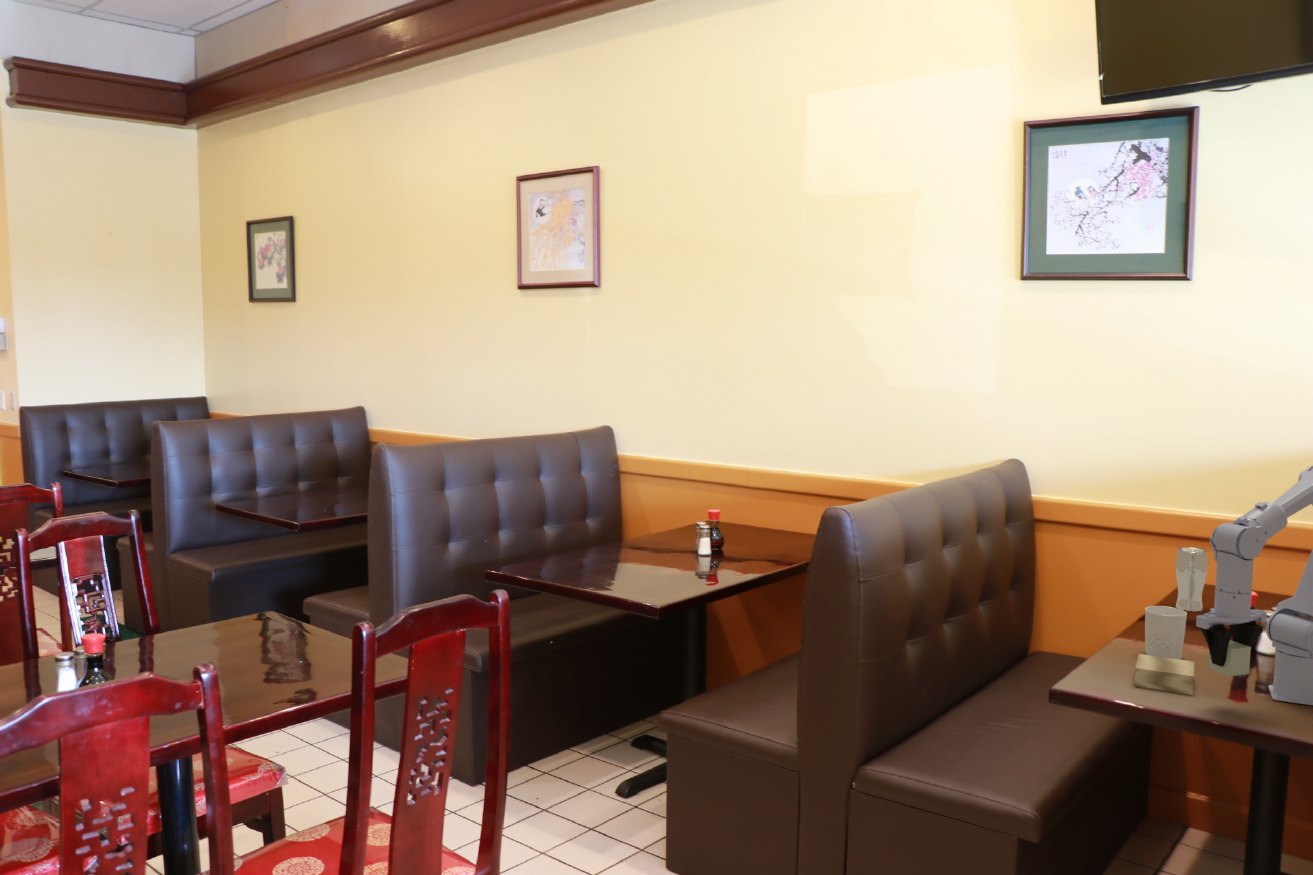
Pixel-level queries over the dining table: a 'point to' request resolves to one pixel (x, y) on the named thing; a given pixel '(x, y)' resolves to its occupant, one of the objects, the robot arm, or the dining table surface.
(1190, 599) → the beer glass
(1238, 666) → the sage block
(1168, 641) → the white cup
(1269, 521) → the robot arm
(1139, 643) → the dining table surface
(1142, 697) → the dining table surface
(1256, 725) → the dining table surface
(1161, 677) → the bamboo box
